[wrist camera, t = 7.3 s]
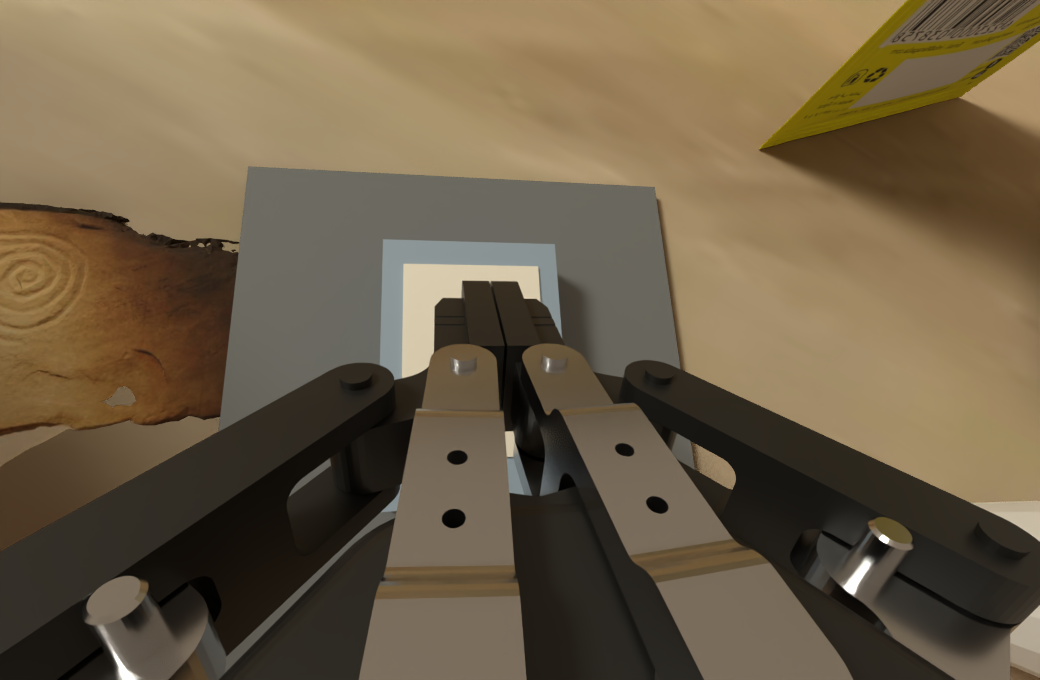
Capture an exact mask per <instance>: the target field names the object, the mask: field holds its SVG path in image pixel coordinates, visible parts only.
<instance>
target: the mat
mask: <svg viewBox="0 0 1040 680" xmlns="http://www.w3.org/2000/svg"><path fill="white" fill-rule="evenodd" d="M383 239H389V240H424V241H460V242H496V243H532V244H555V253H556V266H557V279H558V292H559V305H560V318H561V330H562V340H563V342H564V344H565V346H567V347H570V348H572V349H574V350H576V351H577V352H579V353H580V354H581V355H582V356H583V357H584V358H585V360H586V361H587V363H588V364H589V366H590V368H591V369H592V371H593V372H597V373H601V374H606V375H612V376H617V377H623V376H624V371H625V368H626V366H627V365H629V364H630V363H632V362H635V361H639V360H653V361H659V362H663V363H666V364H669V365H672V366H674V367H676V368H678V369H680V362H679V355H678V348H677V341H676V334H675V327H674V320H673V313H672V306H671V299H670V291H669V284H668V277H667V270H666V263H665V256H664V249H663V242H662V235H661V228H660V221H659V214H658V207H657V200H656V193H655V187H642V186H622V185H602V184H583V183H563V182H543V181H523V180H504V179H484V178H464V177H444V176H425V175H405V174H385V173H366V172H346V171H326V170H306V169H287V168H267V167H248V174H247V183H246V192H245V201H244V210H243V219H242V228H241V237H240V245H239V254H238V263H237V272H236V281H235V290H234V299H233V308H232V316H231V325H230V334H229V343H228V352H227V361H226V370H225V379H224V387H223V396H222V405H221V414H220V423H219V431H221V430H223V429H224V428H226V427H228V426H230V425H232V424H233V423H235V422H237V421H239V420H241V419H243V418H244V417H246V416H248V415H250V414H252V413H253V412H255V411H257V410H259V409H261V408H263V407H264V406H266V405H268V404H270V403H272V402H273V401H275V400H277V399H279V398H281V397H283V396H284V395H286V394H288V393H290V392H292V391H293V390H295V389H297V388H299V387H301V386H303V385H304V384H306V383H308V382H310V381H312V380H313V379H315V378H317V377H319V376H321V375H323V374H324V373H326V372H328V371H330V370H332V369H334V368H336V367H339V366H342V365H346V364H351V363H373V364H378V365H380V337H381V299H382V261H383ZM671 452H672V454H673V455H674V456H675V458H676V459H677V460H679V461H681V462H682V463H684V464H686V465H688V466H689V467H691V468H693V469H694V470H695V467H694V460H693V453H692V446H691V441H690V440H688V439H686V438H684V437H683V436H681V435H679V434H677V435H676V439H675V442H674V445H673V448H672V451H671ZM329 466H331V463H330V458H329V459H328V460H327V461H325V462H324V463H323V464H321V465H320V466H319V467H317V468H316V469H314V470H313V471H312V472H310V473H309V474H308V475H306V476H305V477H303V478H302V479H301V480H300V481H299V482H298V483H297V484H296V485H295V486H294V488H293V489H292V491H291V493H290V495H289V496H291V495H292V494H293V493H295V492H296V491H297V490H299V489H300V488H301V487H303V486H304V485H305V484H307V483H308V482H309V481H311V480H312V479H313V478H315V477H316V476H317V475H319V474H320V473H321V472H323V471H324V470H325V469H327V468H328V467H329ZM396 512H397V511H391V512H380V513H379V514H378V515H377V516H376V517H375V518H374V519H373V520H372V521H371V522H370V523H369V524H367V525H366V526H365V527H364V528H363V529H362V530H361V531H360V532H359V533H358V534H357V535H356V536H355V537H354V538H353V539H351V540H350V541H349V542H348V543H347V544H346V545H345V546H344V547H343V548H342V549H341V550H340V551H339V552H338V553H337V554H335V555H334V556H333V557H332V558H331V559H330V560H329V561H328V562H327V563H326V564H325V565H324V566H323V567H322V568H321V569H319V570H318V571H317V572H316V573H315V574H314V575H313V576H312V577H311V578H310V579H309V580H308V581H307V582H306V583H305V584H303V585H302V586H301V587H300V588H299V589H298V590H297V591H296V592H295V593H294V594H293V595H292V596H291V597H290V598H289V599H287V600H286V601H285V602H284V603H283V604H282V605H281V606H280V607H279V608H278V609H277V610H276V611H275V612H274V613H273V614H271V615H270V616H269V617H268V618H267V619H266V620H265V621H264V622H263V623H262V624H261V625H260V626H259V627H258V628H257V629H255V630H254V631H253V632H252V633H251V634H250V635H249V636H248V637H247V638H246V639H245V640H244V641H243V642H242V643H241V644H239V645H238V646H237V647H236V648H235V649H234V650H233V651H232V652H231V653H230V654H229V655H228V656H227V657H226V668H225V672H226V671H227V670H228V669H229V668H230V667H231V666H232V665H233V664H234V663H235V662H236V661H237V660H238V659H239V658H240V657H241V656H242V655H243V654H244V653H245V652H246V651H247V650H248V649H249V648H250V647H251V646H252V645H253V644H254V643H255V642H256V641H257V640H258V639H259V638H260V637H261V636H262V635H263V634H264V633H265V632H266V631H267V630H268V629H269V628H270V627H271V626H272V625H273V624H274V623H275V622H276V621H277V620H278V619H279V618H280V617H281V616H282V615H283V614H284V613H285V612H286V611H287V610H288V609H289V608H290V607H291V606H292V605H293V604H294V603H295V602H296V601H297V600H298V599H299V598H300V597H301V596H302V595H303V594H304V593H305V592H306V591H307V590H308V589H309V588H310V587H311V586H312V585H313V584H314V583H315V582H316V581H317V580H318V579H319V578H320V577H321V576H322V575H323V574H324V573H325V572H326V571H327V570H328V569H329V568H330V567H331V566H332V565H333V564H334V563H335V562H336V561H337V560H338V559H339V557H340V556H341V555H342V554H343V553H344V552H345V551H347V550H348V549H349V548H350V547H351V546H352V545H353V544H354V543H355V542H357V541H358V540H359V539H360V538H362V537H363V536H364V535H365V534H367V533H368V532H370V531H372V530H373V529H375V528H376V527H378V526H379V525H381V524H383V523H385V522H387V521H389V520H391V519H393V518H395V517H396Z"/></svg>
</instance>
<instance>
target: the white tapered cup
mask: <svg viewBox="0 0 1040 680" xmlns="http://www.w3.org/2000/svg"><path fill="white" fill-rule="evenodd" d="M972 504H974V505H976V506H978V507H980V508H982V509H985V510H987V511H989V512H991V513H993V514H995V515H998V516H1000V517H1002V518H1004V519H1006V520H1008V521H1010V522H1011V523H1013V524H1015V525H1017V526H1018V527H1020V528H1022V529H1023V530H1025V531H1026V532H1028V533H1029V534H1030V535H1032V536H1033V537H1035V538H1036V539H1037V540H1038V541H1040V501H1020V502H988V503H972ZM1010 666H1013V667H1015V668H1017V669H1020V670H1022V671H1025V672H1027V673H1029V674H1032V675H1034V676H1036V677H1039V678H1040V606H1039V607H1038V608H1037V609H1035V610H1034V611H1033V612H1032V613H1031V614H1030V615H1029V616H1028V617H1027V618H1026V619H1025V620H1024V621H1023V622H1022V623H1021V624H1020V625H1019V626H1018V627H1017V628H1016V629H1015V630H1014V631H1013V632H1012V633H1011V634H1010Z"/></svg>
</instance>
